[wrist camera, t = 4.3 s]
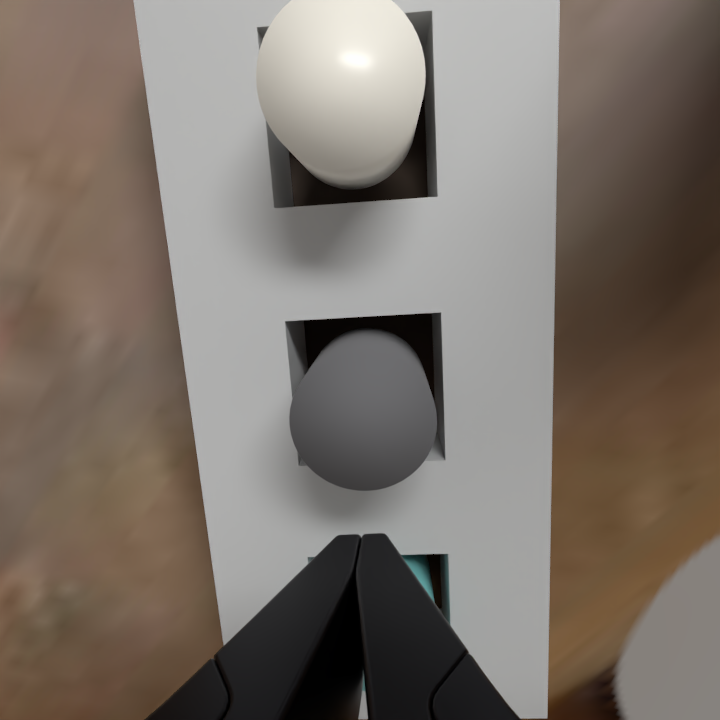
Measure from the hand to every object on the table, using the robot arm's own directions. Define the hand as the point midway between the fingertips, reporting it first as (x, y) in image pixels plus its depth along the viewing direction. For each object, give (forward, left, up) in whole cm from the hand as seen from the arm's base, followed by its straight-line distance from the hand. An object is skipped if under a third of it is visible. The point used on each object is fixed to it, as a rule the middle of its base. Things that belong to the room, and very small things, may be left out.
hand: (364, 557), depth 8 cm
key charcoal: (0, -1, -9) cm, 9 cm away
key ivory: (0, -9, -9) cm, 13 cm away
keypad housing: (0, -1, -12) cm, 12 cm away
